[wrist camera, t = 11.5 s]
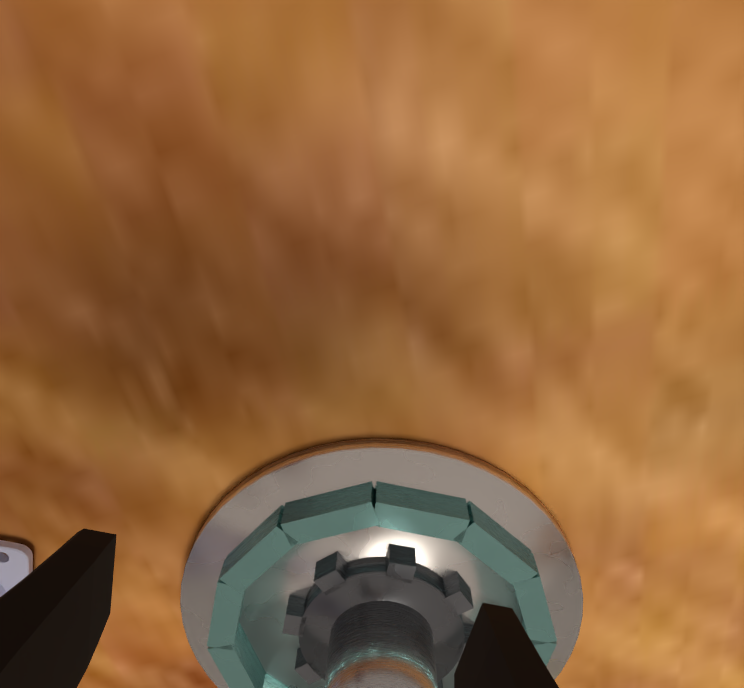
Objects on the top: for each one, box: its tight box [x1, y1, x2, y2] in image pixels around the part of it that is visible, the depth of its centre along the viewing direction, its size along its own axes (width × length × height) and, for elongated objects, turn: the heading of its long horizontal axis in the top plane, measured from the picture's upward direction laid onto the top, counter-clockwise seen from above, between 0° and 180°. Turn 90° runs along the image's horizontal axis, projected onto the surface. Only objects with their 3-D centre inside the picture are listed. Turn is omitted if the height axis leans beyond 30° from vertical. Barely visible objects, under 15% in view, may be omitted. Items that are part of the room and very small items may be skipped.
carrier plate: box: [180, 438, 583, 688], centre depth 25 cm, size 16×16×2 cm
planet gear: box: [282, 544, 474, 688], centre depth 23 cm, size 8×8×6 cm
